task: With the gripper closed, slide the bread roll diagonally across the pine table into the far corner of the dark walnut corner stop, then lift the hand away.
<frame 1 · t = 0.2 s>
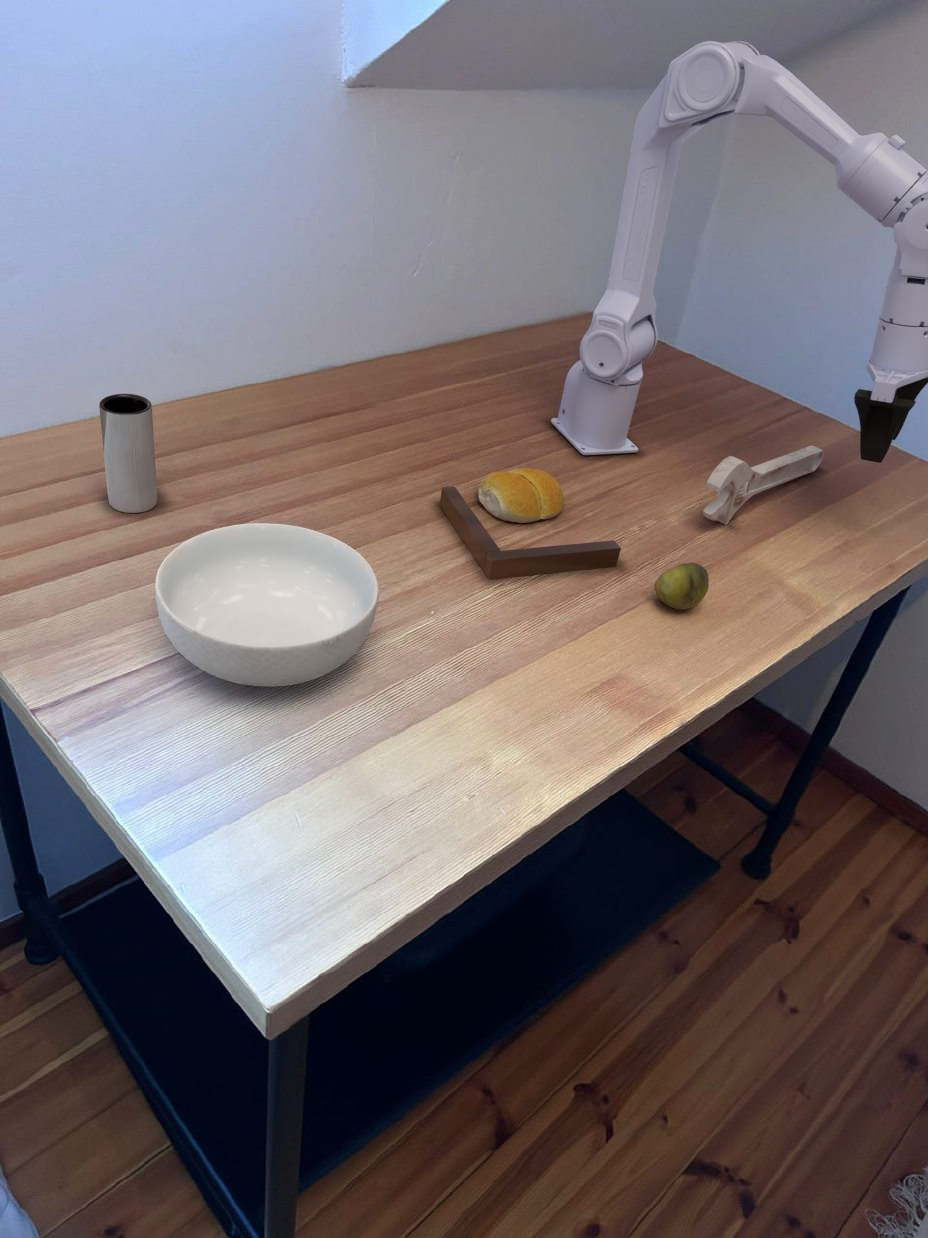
hand: (878, 448, 101), 11 cm above the table, tool pointing down, fingers open, 7 cm apart
lime: (676, 607, 91), on the table
grey cylindrical vase: (133, 503, 92), on the table
wrench: (758, 499, 112), on the table
bread roll: (518, 508, 102), on the table
corner stop: (525, 535, 97), on the table
cereal bowl: (268, 651, 77), on the table
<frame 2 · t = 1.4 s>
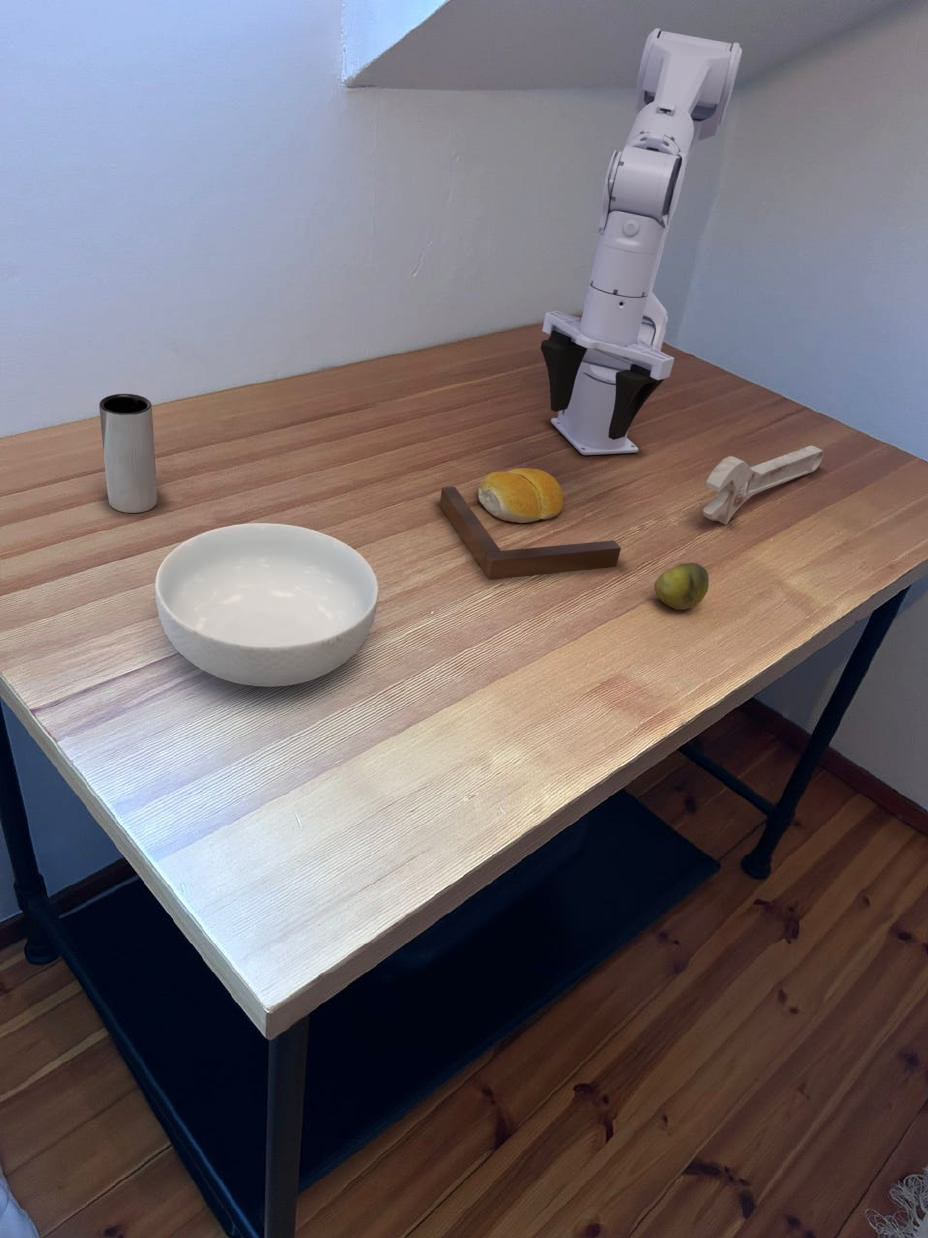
hand: (587, 422, 97), 10 cm above the table, tool pointing down, fingers open, 7 cm apart
nothing on the table moved.
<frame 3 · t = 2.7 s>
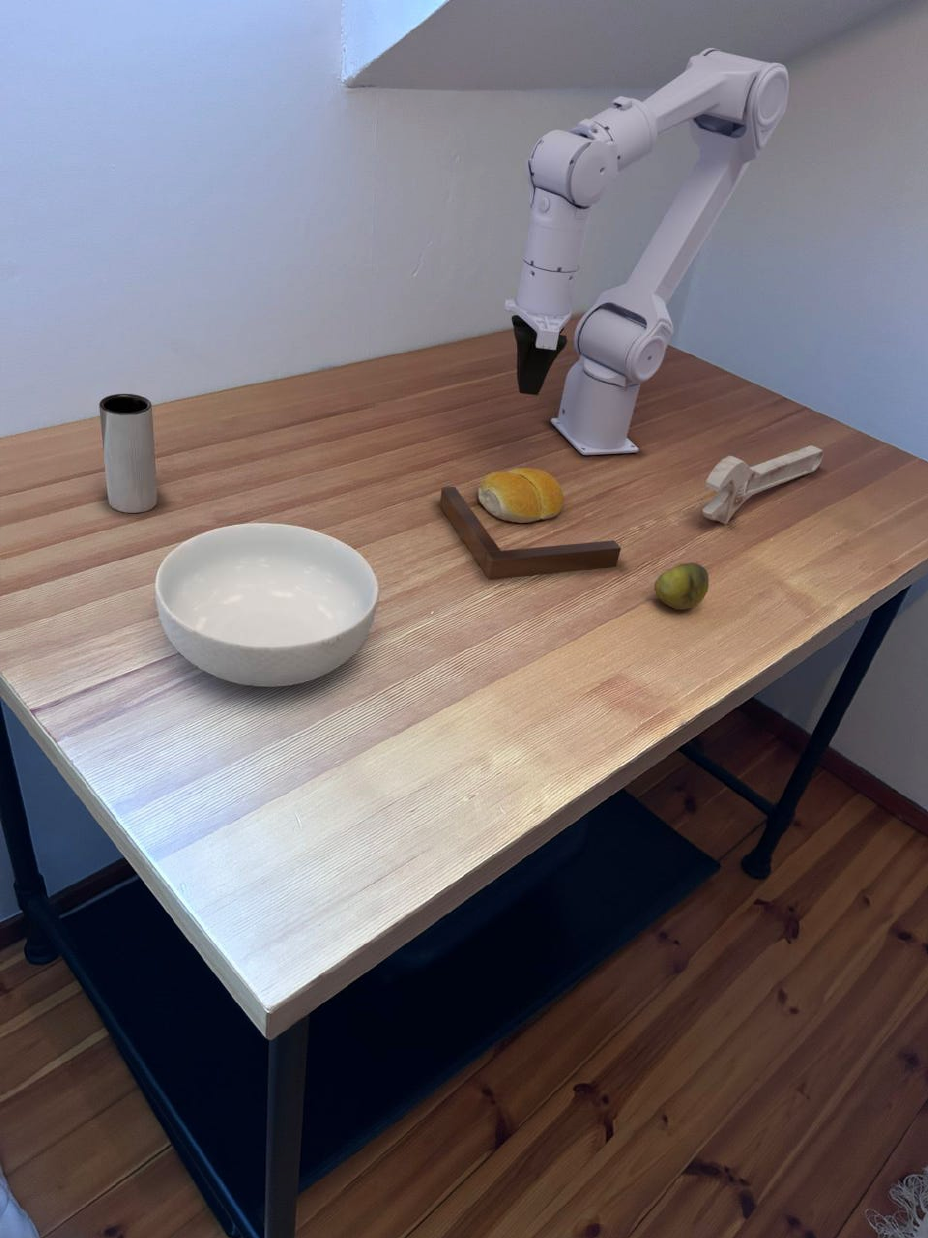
hand: (527, 388, 104), 9 cm above the table, tool pointing down, fingers closed
nothing on the table moved.
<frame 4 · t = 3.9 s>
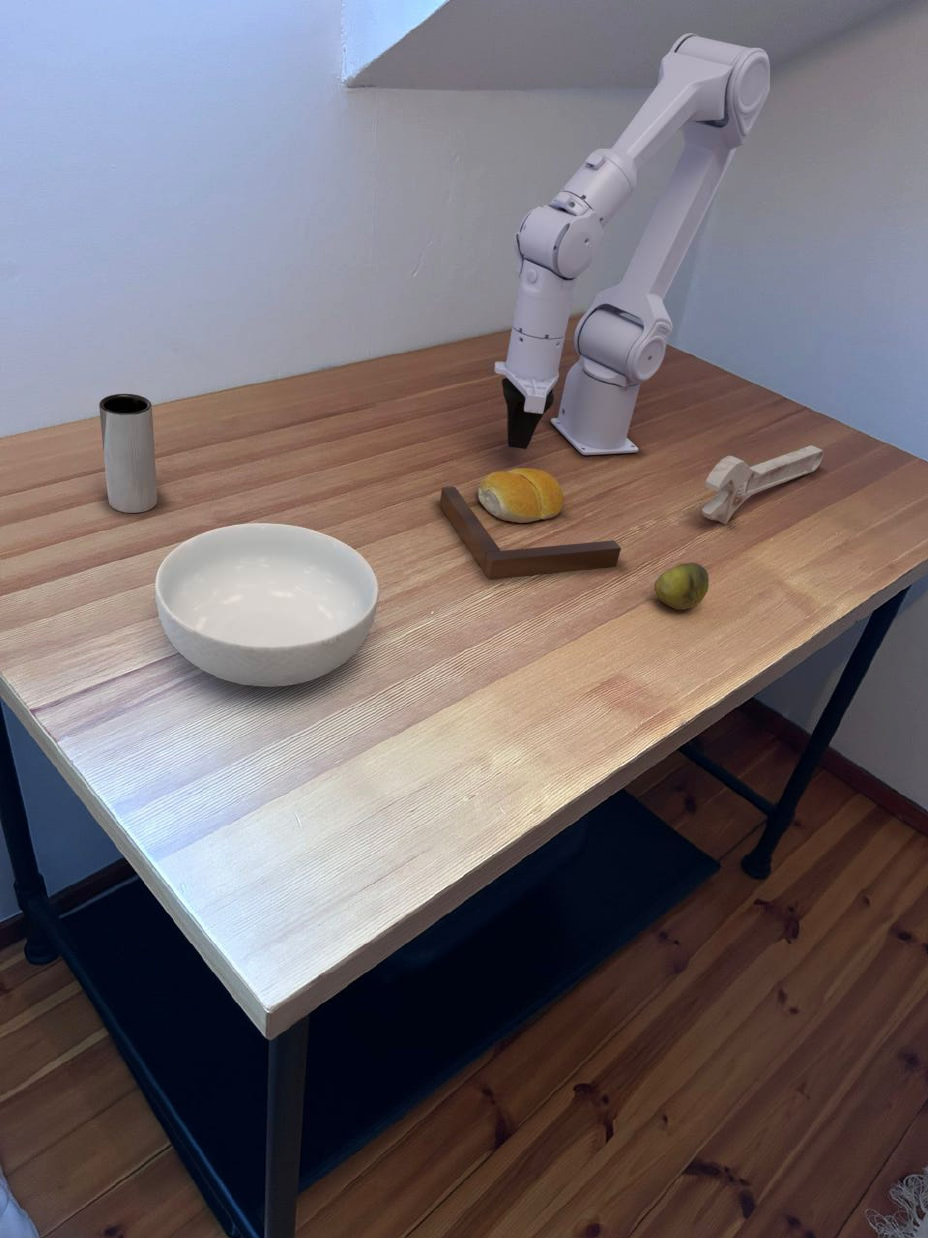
hand: (517, 445, 108), 3 cm above the table, tool pointing down, fingers closed
nothing on the table moved.
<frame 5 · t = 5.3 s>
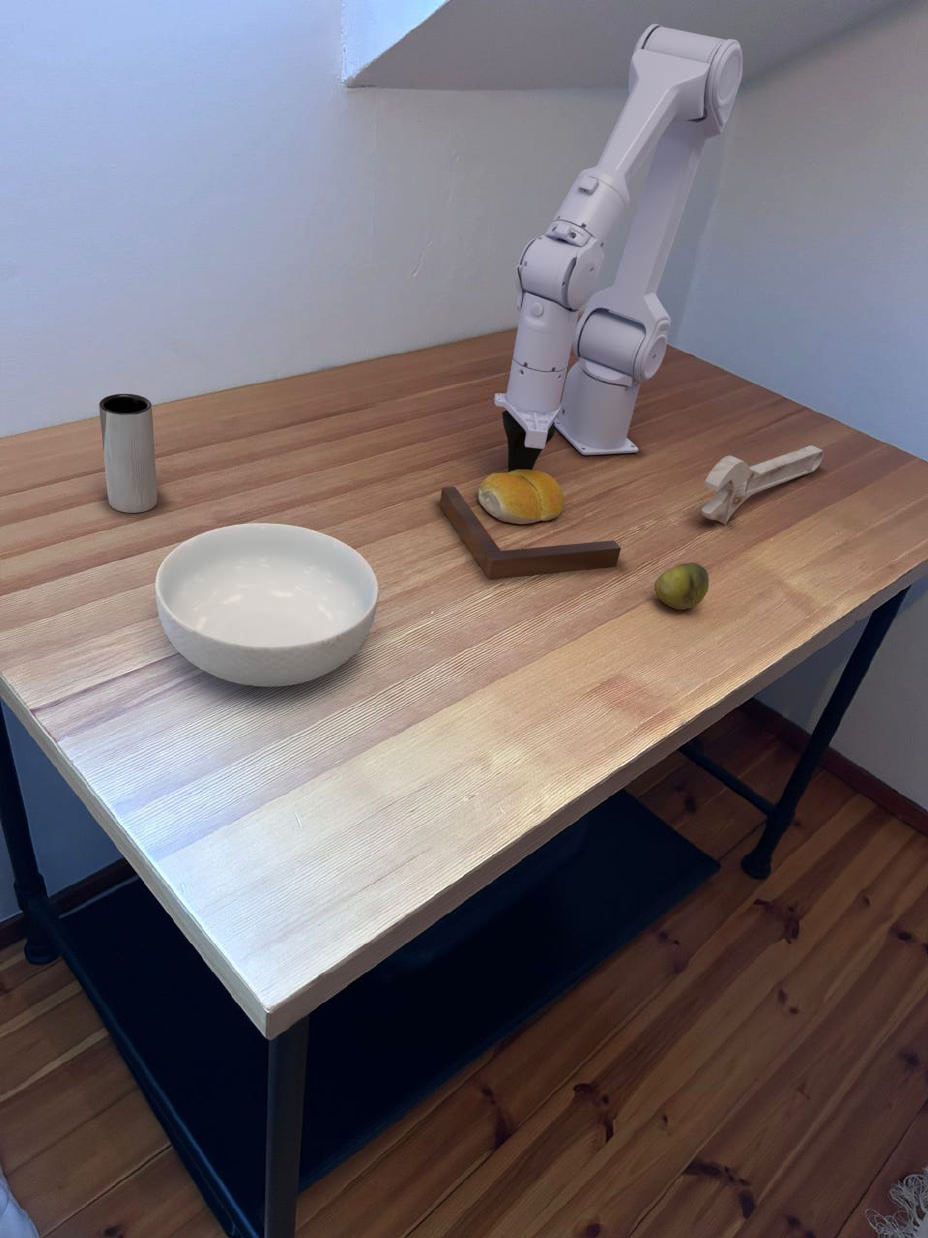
hand: (517, 478, 105), 1 cm above the table, tool pointing down, fingers closed
bread roll: (518, 509, 102), on the table, touching gripper
everything else where it was.
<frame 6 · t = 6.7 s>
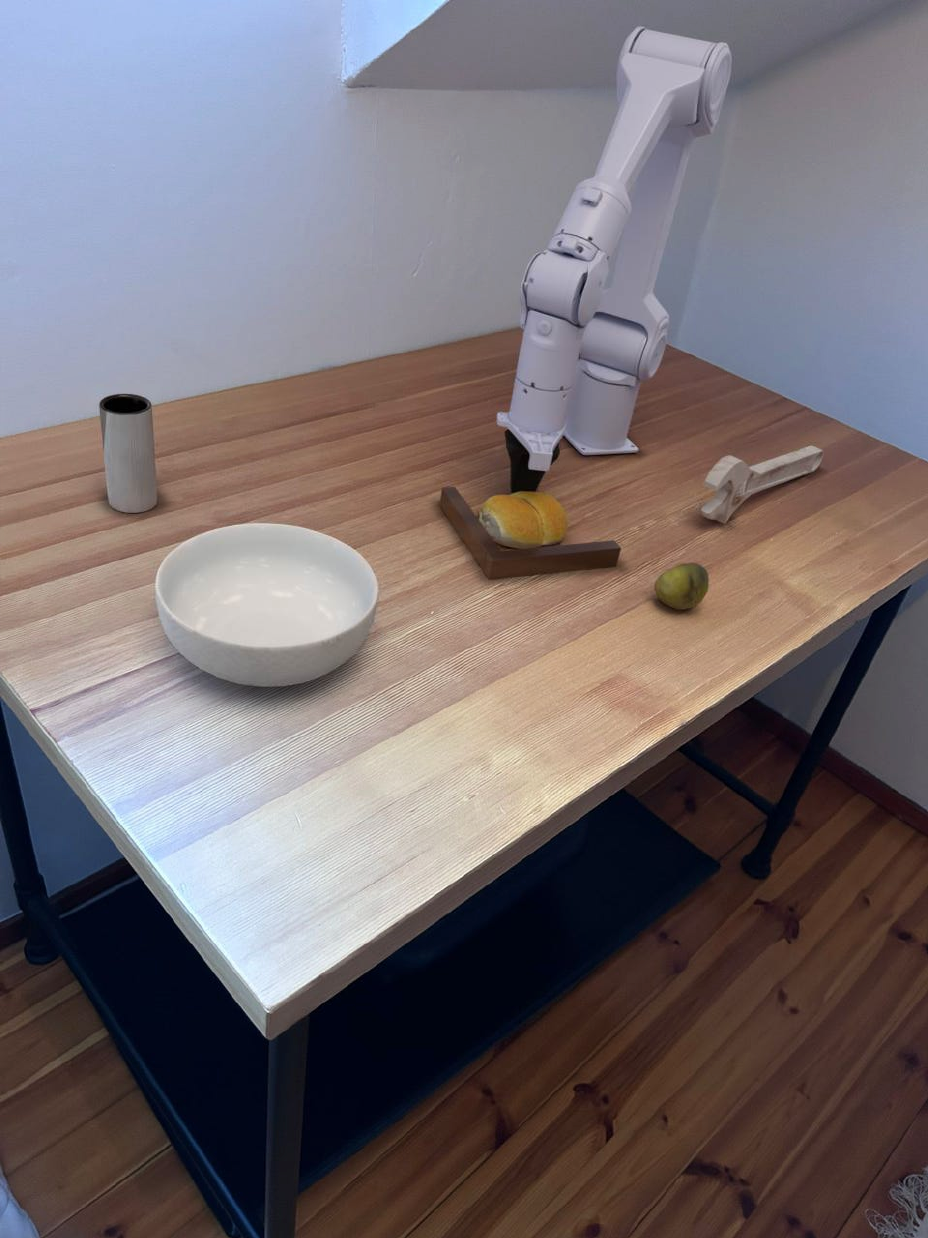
hand: (520, 499, 101), 1 cm above the table, tool pointing down, fingers closed
bread roll: (520, 533, 98), on the table, touching gripper
everything else where it was.
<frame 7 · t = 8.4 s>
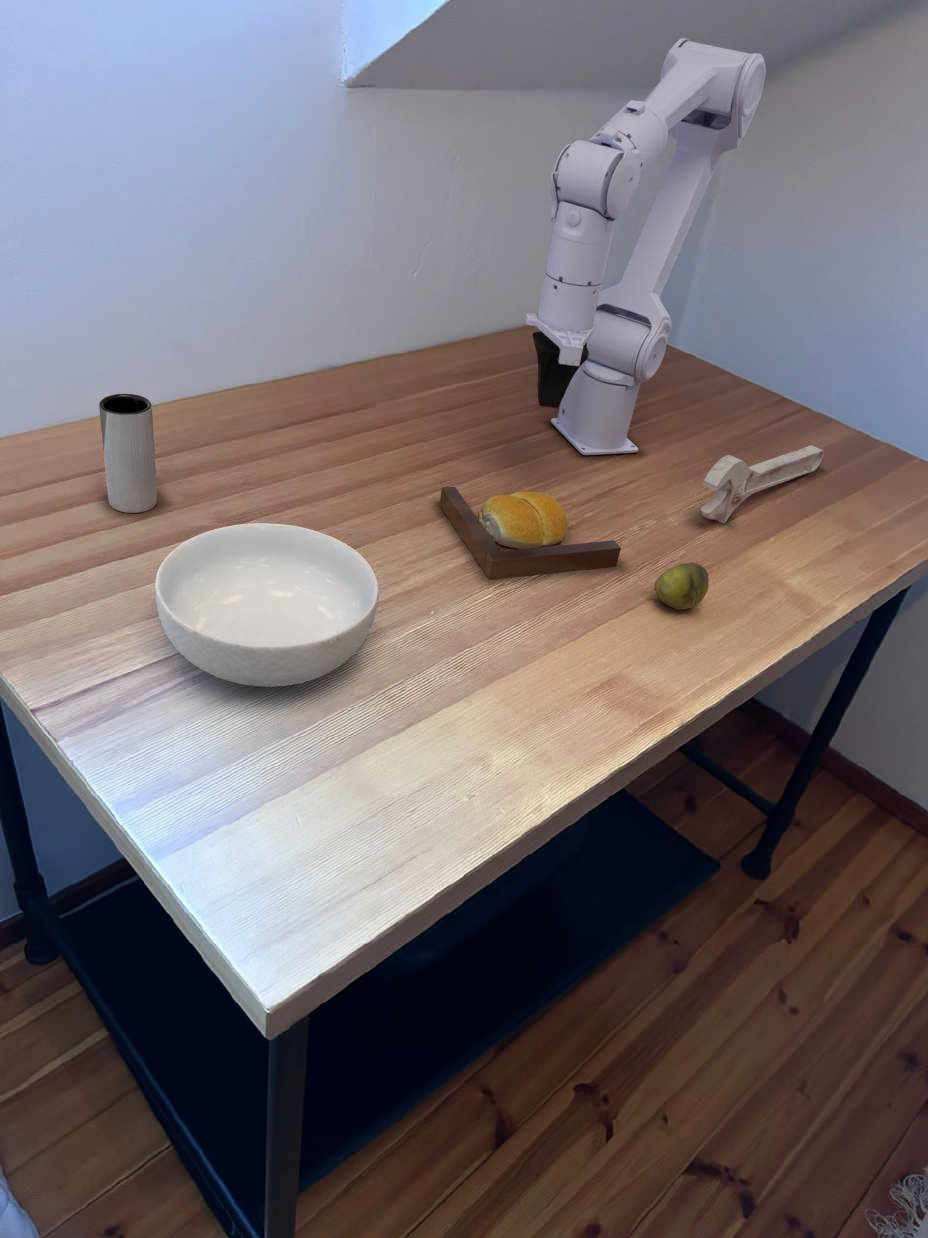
hand: (548, 404, 102), 9 cm above the table, tool pointing down, fingers closed
bread roll: (520, 533, 98), on the table
everything else where it was.
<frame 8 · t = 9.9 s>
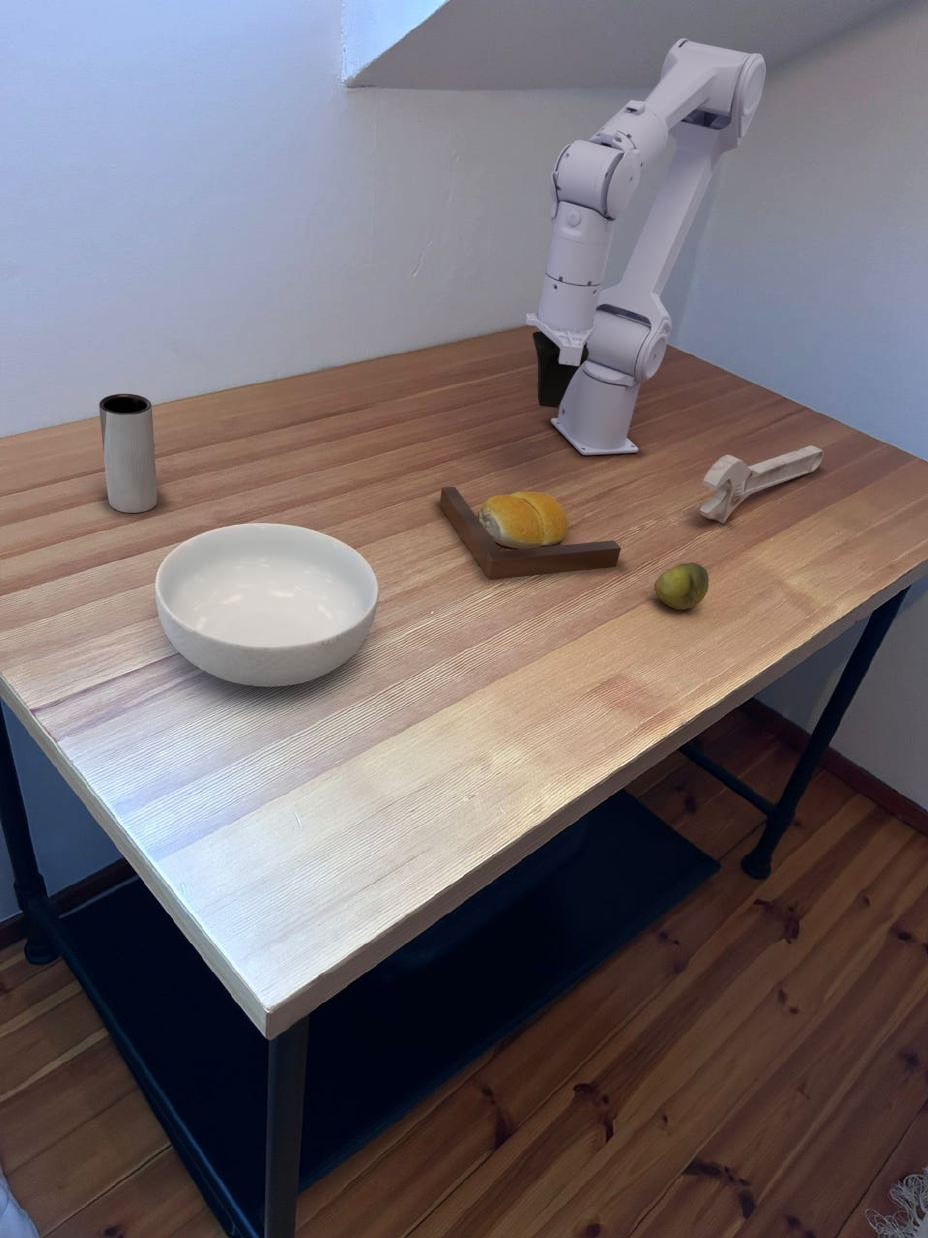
hand: (548, 404, 102), 9 cm above the table, tool pointing down, fingers closed
nothing on the table moved.
at the end: bread roll 1.6 cm from the target spot, on the table; bread roll moved 5.2 cm from its start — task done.
